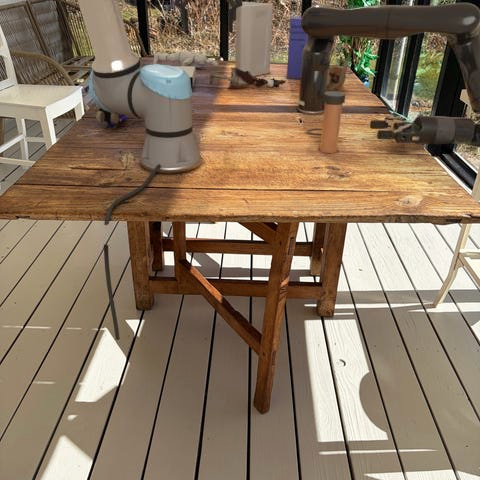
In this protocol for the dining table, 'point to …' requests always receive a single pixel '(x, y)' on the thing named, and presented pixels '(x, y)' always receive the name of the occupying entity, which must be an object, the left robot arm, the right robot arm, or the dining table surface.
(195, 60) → the toy
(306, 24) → the right robot arm
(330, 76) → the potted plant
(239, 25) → the tall white carton
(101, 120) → the figurine character
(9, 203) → the dining table surface
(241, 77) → the figurine
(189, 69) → the disc drive
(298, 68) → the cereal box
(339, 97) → the lid
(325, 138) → the wooden cylinder
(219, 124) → the dining table surface
